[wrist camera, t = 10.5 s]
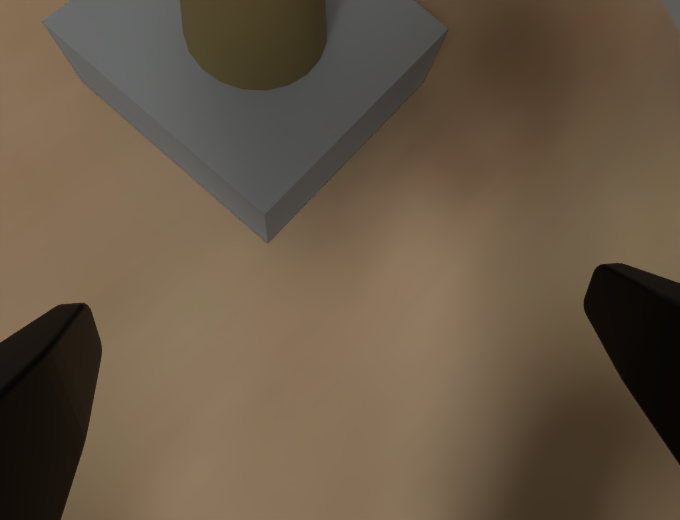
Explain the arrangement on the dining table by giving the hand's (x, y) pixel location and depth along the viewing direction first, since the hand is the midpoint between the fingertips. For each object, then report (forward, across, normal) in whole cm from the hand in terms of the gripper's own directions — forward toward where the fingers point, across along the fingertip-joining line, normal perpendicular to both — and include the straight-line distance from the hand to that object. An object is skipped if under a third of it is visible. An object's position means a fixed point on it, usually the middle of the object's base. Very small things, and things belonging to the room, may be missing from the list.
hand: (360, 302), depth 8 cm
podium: (+19, +1, 0) cm, 19 cm away
